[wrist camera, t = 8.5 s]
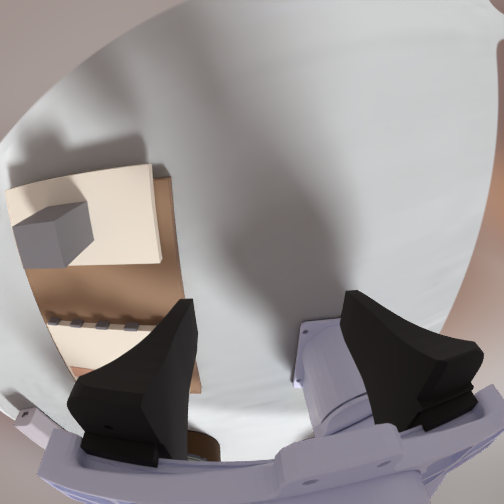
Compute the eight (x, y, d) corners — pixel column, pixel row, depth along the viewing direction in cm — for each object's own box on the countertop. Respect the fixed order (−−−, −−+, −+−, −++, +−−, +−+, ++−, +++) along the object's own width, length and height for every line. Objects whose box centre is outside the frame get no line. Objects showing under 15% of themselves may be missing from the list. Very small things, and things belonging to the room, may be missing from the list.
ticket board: (201, 386, 28) (200, 393, 27) (78, 375, 27) (75, 381, 26) (171, 177, 19) (168, 179, 18) (14, 199, 18) (7, 202, 17)
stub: (162, 258, 20) (143, 297, 15) (26, 262, 19) (-6, 291, 15) (151, 163, 17) (122, 175, 12) (10, 188, 16) (-30, 206, 12)
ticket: (190, 387, 27) (189, 394, 26) (78, 377, 26) (76, 382, 25) (175, 323, 23) (173, 329, 22) (48, 316, 22) (44, 322, 21)
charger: (74, 450, 38) (20, 409, 33) (97, 450, 37) (37, 405, 31) (69, 467, 34) (12, 426, 28) (92, 469, 33) (28, 425, 27)
